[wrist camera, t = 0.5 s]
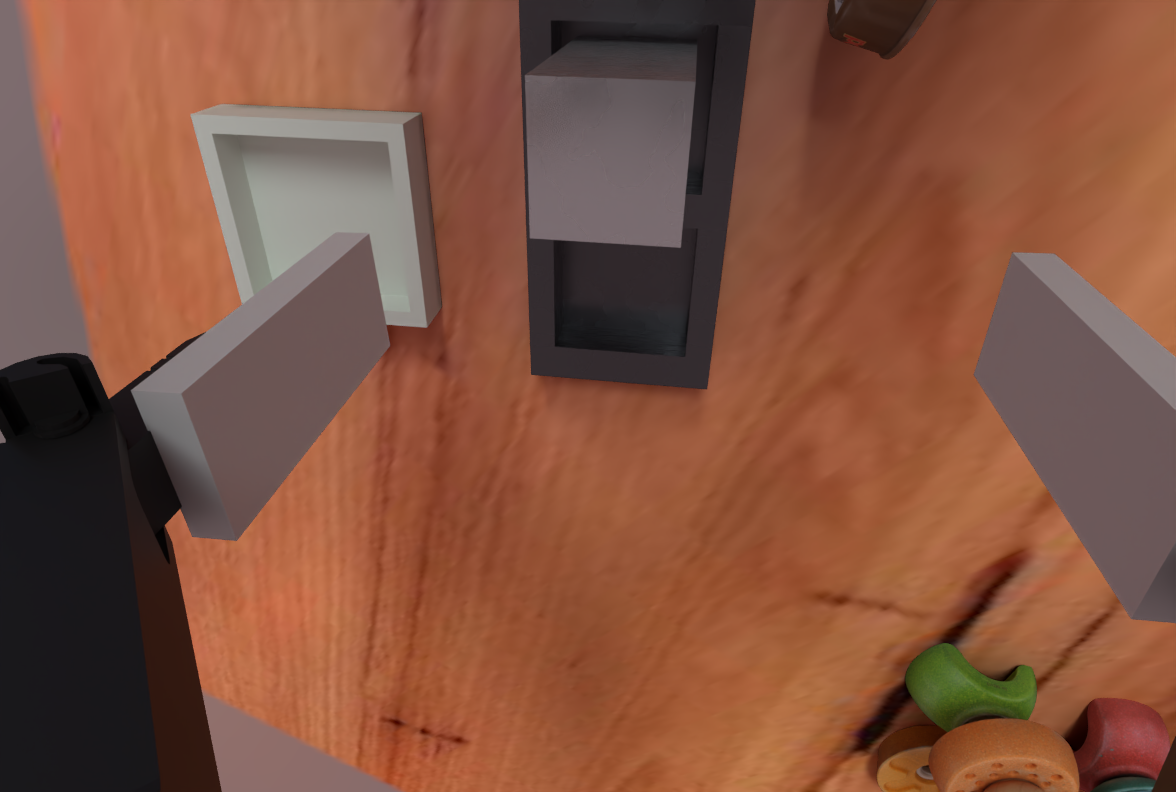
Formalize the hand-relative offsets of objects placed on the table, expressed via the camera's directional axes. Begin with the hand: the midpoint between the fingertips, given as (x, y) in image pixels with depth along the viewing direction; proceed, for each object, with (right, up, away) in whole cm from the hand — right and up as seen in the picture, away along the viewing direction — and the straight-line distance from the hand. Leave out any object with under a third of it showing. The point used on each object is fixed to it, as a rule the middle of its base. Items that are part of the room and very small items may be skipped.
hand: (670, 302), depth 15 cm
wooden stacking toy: (+28, -26, +36) cm, 53 cm away
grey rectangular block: (0, +11, +16) cm, 20 cm away
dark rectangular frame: (0, +8, +19) cm, 20 cm away
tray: (-15, +7, +21) cm, 27 cm away
